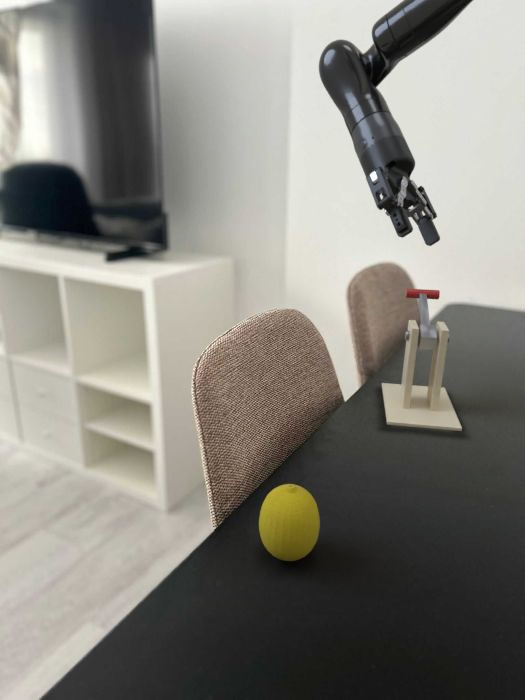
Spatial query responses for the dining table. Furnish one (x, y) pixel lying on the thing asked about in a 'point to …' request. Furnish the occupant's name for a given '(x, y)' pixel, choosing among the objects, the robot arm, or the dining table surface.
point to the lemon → (289, 522)
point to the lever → (425, 317)
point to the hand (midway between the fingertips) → (420, 238)
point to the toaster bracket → (421, 388)
